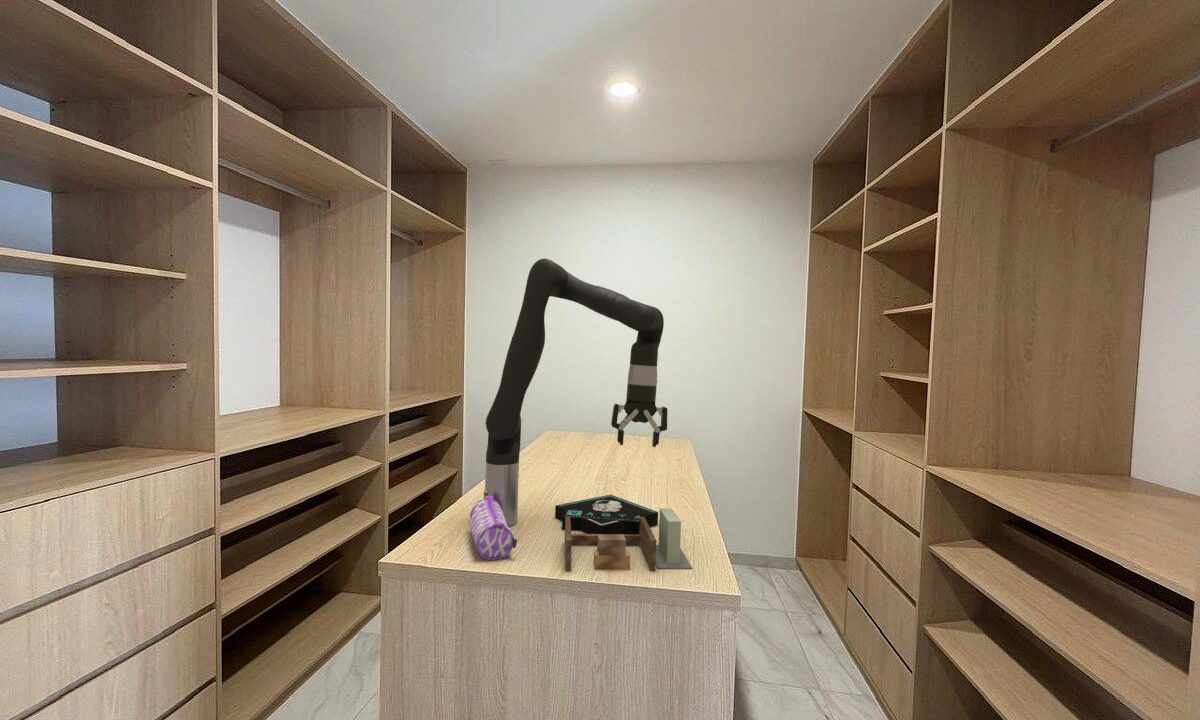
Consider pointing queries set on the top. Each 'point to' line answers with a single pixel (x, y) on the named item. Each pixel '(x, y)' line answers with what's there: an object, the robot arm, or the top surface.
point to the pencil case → (491, 530)
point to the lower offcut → (612, 561)
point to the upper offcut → (611, 544)
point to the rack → (642, 539)
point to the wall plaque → (605, 515)
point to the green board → (669, 535)
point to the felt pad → (663, 565)
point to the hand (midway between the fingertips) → (637, 445)
